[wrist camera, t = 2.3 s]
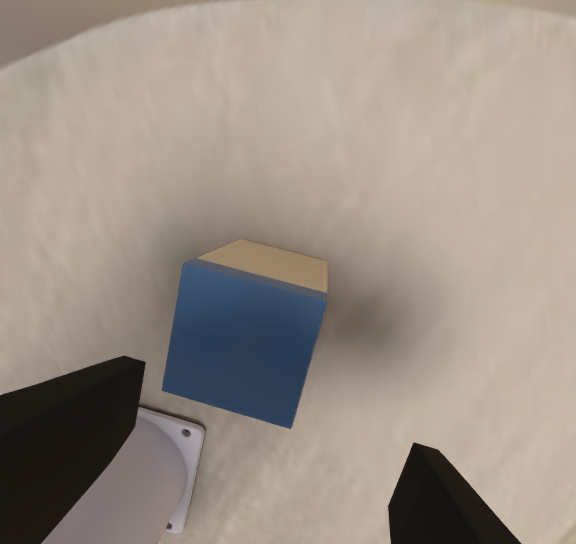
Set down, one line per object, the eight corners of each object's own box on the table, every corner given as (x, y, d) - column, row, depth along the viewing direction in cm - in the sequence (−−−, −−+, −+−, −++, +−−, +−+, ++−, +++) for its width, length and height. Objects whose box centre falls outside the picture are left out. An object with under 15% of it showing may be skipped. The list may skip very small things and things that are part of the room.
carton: (224, 319, 18) (160, 391, 11) (241, 238, 17) (182, 262, 10) (305, 342, 18) (291, 429, 11) (328, 261, 17) (327, 301, 10)
